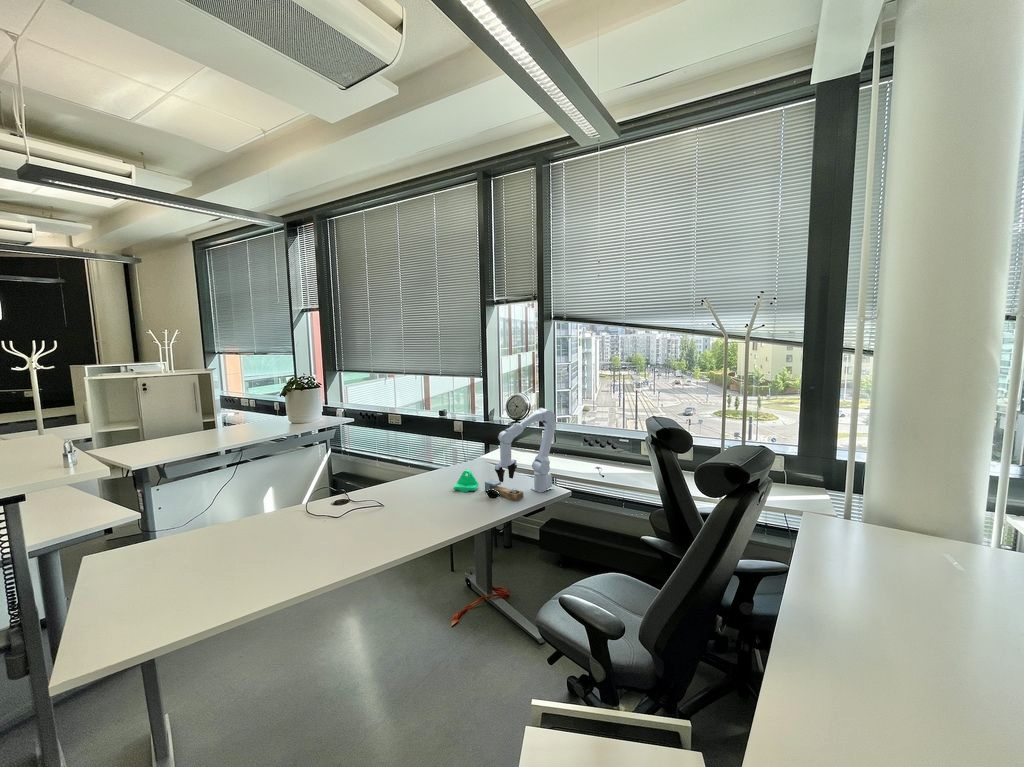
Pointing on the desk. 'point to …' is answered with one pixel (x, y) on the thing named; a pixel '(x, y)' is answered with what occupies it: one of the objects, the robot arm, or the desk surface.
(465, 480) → the green triangular piece
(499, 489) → the lever
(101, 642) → the desk surface
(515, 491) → the pintle
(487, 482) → the keeper
